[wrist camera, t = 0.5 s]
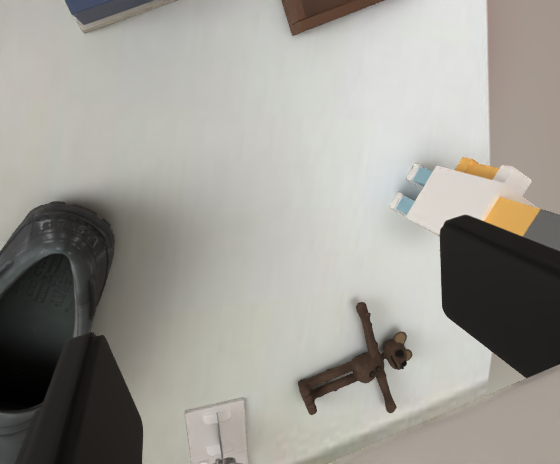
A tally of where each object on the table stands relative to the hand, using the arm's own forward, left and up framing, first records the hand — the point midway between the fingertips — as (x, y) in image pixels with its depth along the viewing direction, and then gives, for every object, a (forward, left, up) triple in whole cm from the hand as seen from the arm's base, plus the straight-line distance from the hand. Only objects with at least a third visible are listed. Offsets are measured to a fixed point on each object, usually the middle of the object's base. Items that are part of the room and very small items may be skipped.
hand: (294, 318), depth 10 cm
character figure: (+13, +20, -28) cm, 37 cm away
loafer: (+9, -21, -28) cm, 36 cm away
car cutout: (+33, -12, -28) cm, 45 cm away
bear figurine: (+30, +7, -28) cm, 41 cm away
